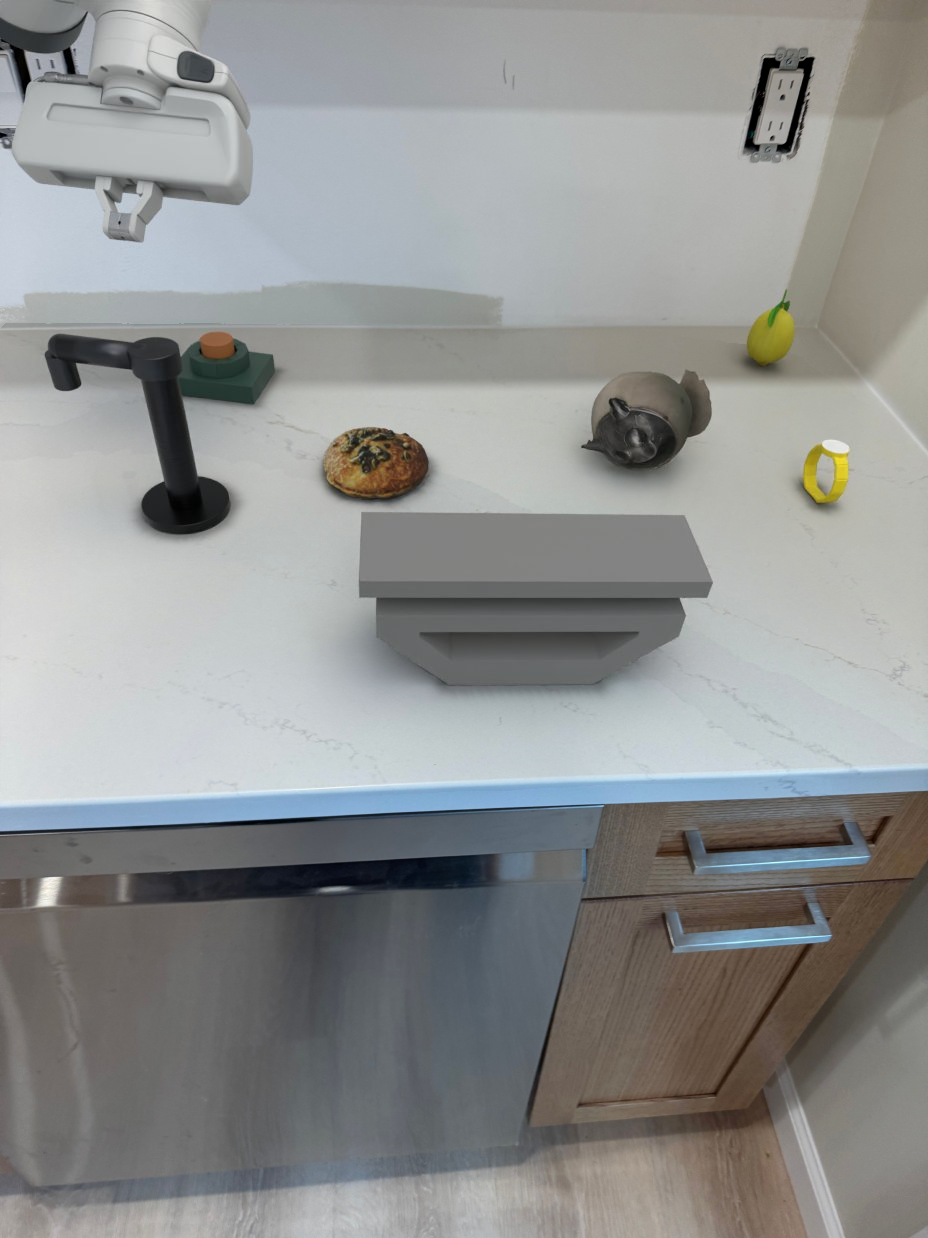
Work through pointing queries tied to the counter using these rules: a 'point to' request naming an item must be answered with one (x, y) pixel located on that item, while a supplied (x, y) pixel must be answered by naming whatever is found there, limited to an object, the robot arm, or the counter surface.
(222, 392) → the control block
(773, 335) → the lemon
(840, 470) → the watch
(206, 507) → the faucet base
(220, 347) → the tap button
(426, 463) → the bread roll
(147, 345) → the spout
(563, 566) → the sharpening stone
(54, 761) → the counter surface
